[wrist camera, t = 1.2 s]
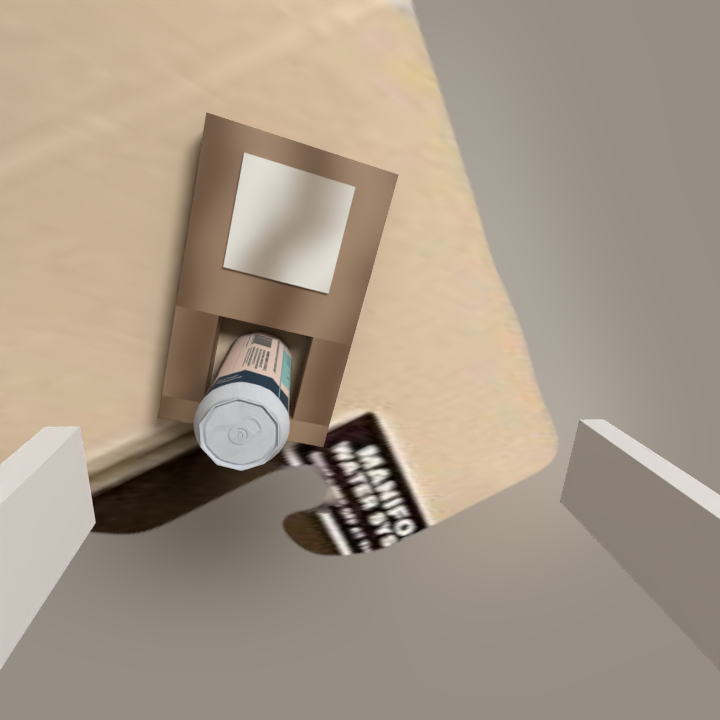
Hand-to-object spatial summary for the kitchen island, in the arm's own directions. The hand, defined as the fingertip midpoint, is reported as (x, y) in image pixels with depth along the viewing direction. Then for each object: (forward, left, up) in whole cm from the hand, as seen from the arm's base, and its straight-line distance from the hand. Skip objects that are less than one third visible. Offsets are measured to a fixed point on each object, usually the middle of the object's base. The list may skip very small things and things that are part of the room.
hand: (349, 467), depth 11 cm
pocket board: (-3, 0, -22) cm, 22 cm away
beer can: (-3, -5, -22) cm, 22 cm away
